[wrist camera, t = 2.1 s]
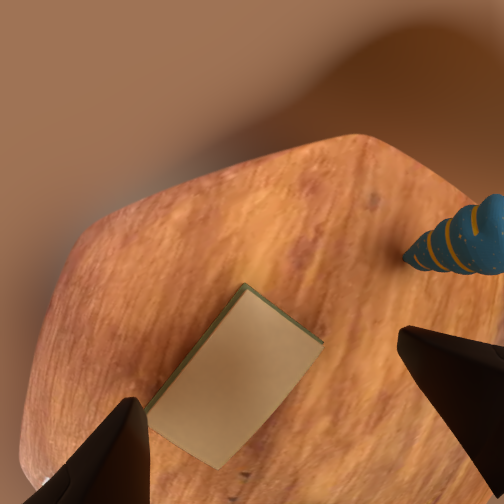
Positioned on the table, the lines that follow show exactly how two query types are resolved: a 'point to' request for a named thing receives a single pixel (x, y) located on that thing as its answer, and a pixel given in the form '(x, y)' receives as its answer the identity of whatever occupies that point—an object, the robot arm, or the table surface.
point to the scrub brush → (233, 378)
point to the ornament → (464, 241)
